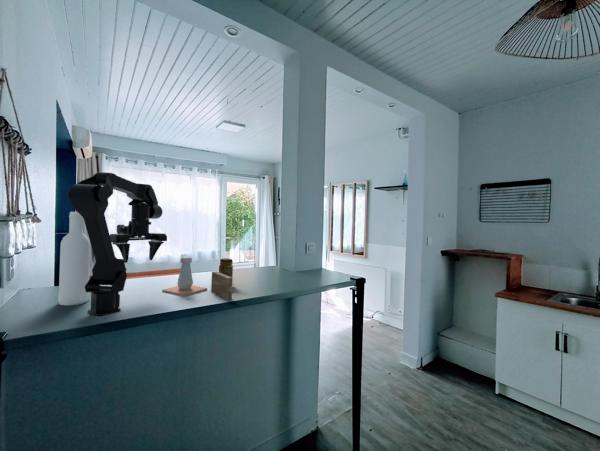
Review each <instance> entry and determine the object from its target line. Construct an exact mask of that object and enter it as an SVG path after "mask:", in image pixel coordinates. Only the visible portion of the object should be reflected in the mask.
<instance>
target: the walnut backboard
mask: <svg viewBox="0 0 600 451" xmlns="http://www.w3.org/2000/svg"><path fill="white" fill-rule="evenodd" d="M233 279H234V277H233V276H232V277H230V276H227V275H224V274H222V273H219V271H211V287H210V288H211V289H210V292H212V293H214V294H215V295H218V296H220V297H221V298H223V299H225V300H232V299H233V297H232V296H233V288H232V284H233Z"/></svg>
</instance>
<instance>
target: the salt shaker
mask: <svg viewBox="0 0 600 451" xmlns="http://www.w3.org/2000/svg"><path fill="white" fill-rule="evenodd" d="M179 261H180V264H181V266H180V271H179V275H178V279H177V286H178V287H179V289H180V290H189V289H191V286H192V285H194V280H193V275H192V268H191V264H192V262H193V258H192V257H190V256H182V257H180V260H179Z"/></svg>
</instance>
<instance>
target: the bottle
mask: <svg viewBox="0 0 600 451" xmlns="http://www.w3.org/2000/svg"><path fill="white" fill-rule="evenodd" d="M68 218H69V224H68V225H69V228H68V230H69V231H68V233H67V234H66V235H65V236H63V237H62V240H61V241H60V250H59V253H60V254H59V277H58V278H59V281H58V282H59V283H58V285H59V286H58V294H57V295H58V296H57V299H58V304H59V305H60V306H66V307H69V306H78V305H81V304H85V303H87V302H88V301H89V296H90V292H86V290H85V285H86V284H87V282H88V281H89V279H90V269H91V268H90V262H91V243H90V239H89V236H87V235H86V234H85V233H84V219H83V217H82V216H81V215H80V214H79V213H78V212H77V211H70V212H69V215H68Z"/></svg>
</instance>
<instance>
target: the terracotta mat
mask: <svg viewBox="0 0 600 451" xmlns="http://www.w3.org/2000/svg"><path fill="white" fill-rule="evenodd" d="M161 291H162V293H166V294H171V295H175V296H180V297H187V296H191V295H194V294H198V293H201V292H205V291H208V288H207V287H202V286H200V285H199V286H198V285H194V284H192V286H191V289H189V290H180V289H179V287H178V285H177V286H173V287H168V288H164V289H162V290H161Z"/></svg>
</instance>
